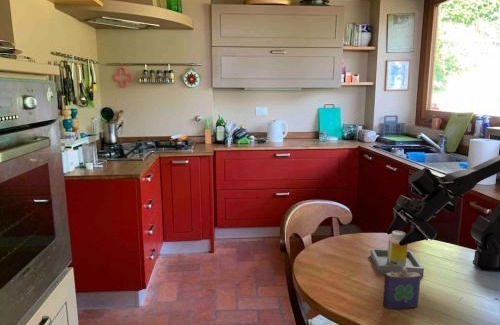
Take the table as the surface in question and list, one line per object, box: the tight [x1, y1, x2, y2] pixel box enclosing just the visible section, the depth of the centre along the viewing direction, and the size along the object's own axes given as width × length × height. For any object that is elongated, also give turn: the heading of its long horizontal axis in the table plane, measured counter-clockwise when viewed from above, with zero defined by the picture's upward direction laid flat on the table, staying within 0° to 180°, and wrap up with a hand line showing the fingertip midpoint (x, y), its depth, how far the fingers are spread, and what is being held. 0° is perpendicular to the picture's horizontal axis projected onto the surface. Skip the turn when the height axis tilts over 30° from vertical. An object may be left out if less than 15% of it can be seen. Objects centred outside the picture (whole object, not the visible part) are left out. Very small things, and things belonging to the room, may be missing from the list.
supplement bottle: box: [387, 230, 408, 266], centre depth 121 cm, size 6×6×10 cm
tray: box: [370, 248, 425, 277], centre depth 122 cm, size 13×13×2 cm
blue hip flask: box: [382, 267, 422, 311], centre depth 98 cm, size 9×3×11 cm, turn 95°
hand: (393, 238), depth 121 cm, fingers open, 9 cm apart
